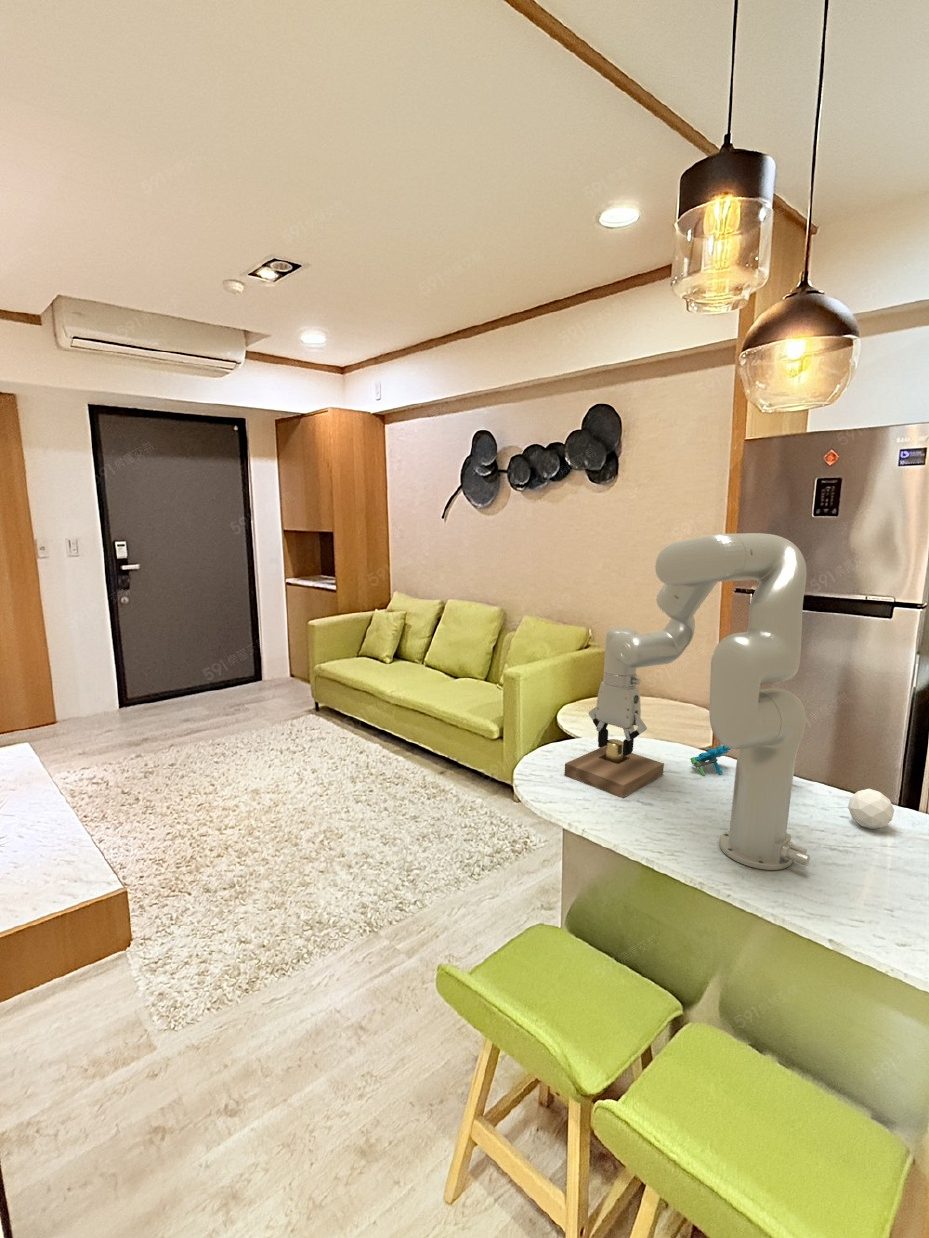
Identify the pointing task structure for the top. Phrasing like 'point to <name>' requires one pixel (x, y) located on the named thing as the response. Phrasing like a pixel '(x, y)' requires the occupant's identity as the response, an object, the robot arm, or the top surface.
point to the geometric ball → (871, 808)
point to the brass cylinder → (614, 751)
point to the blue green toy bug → (709, 758)
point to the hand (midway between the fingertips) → (614, 749)
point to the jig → (614, 772)
